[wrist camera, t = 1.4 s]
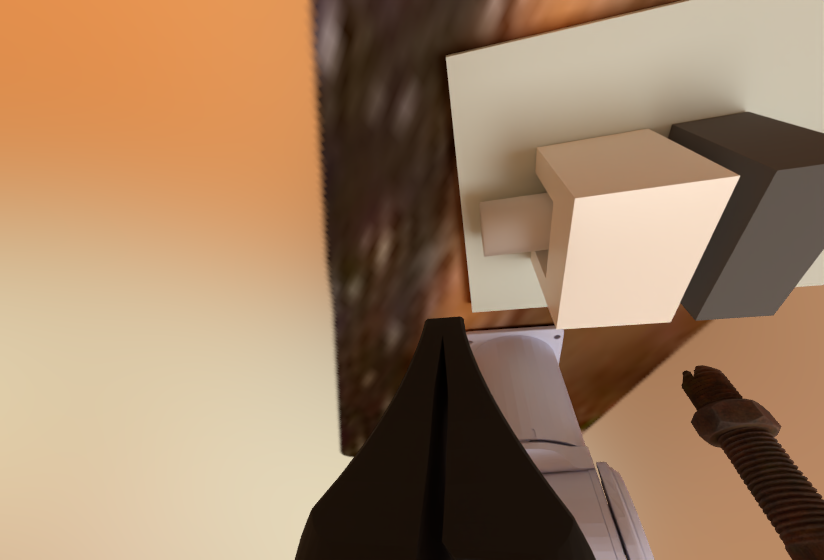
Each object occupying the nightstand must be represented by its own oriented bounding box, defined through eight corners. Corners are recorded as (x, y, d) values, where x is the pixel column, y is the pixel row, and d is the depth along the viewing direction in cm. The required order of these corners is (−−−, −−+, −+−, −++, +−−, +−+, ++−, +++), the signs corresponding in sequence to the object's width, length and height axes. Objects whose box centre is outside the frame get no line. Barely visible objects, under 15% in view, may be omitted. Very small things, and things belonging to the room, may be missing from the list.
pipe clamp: (891, 268, 19) (1031, 343, 15) (471, 303, 24) (477, 369, 20) (1289, -142, 9) (2087, -299, 5) (445, 55, 14) (446, 70, 10)
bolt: (741, 349, 25) (993, 626, 14) (735, 382, 28) (942, 636, 16) (657, 365, 27) (815, 617, 16) (660, 394, 30) (795, 626, 18)
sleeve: (616, 250, 19) (670, 321, 14) (530, 259, 20) (556, 329, 15) (648, 128, 15) (740, 175, 10) (536, 147, 15) (575, 198, 11)
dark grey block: (691, 242, 18) (773, 315, 14) (634, 248, 19) (695, 320, 14) (747, 111, 14) (896, 154, 9) (671, 124, 14) (777, 170, 10)
